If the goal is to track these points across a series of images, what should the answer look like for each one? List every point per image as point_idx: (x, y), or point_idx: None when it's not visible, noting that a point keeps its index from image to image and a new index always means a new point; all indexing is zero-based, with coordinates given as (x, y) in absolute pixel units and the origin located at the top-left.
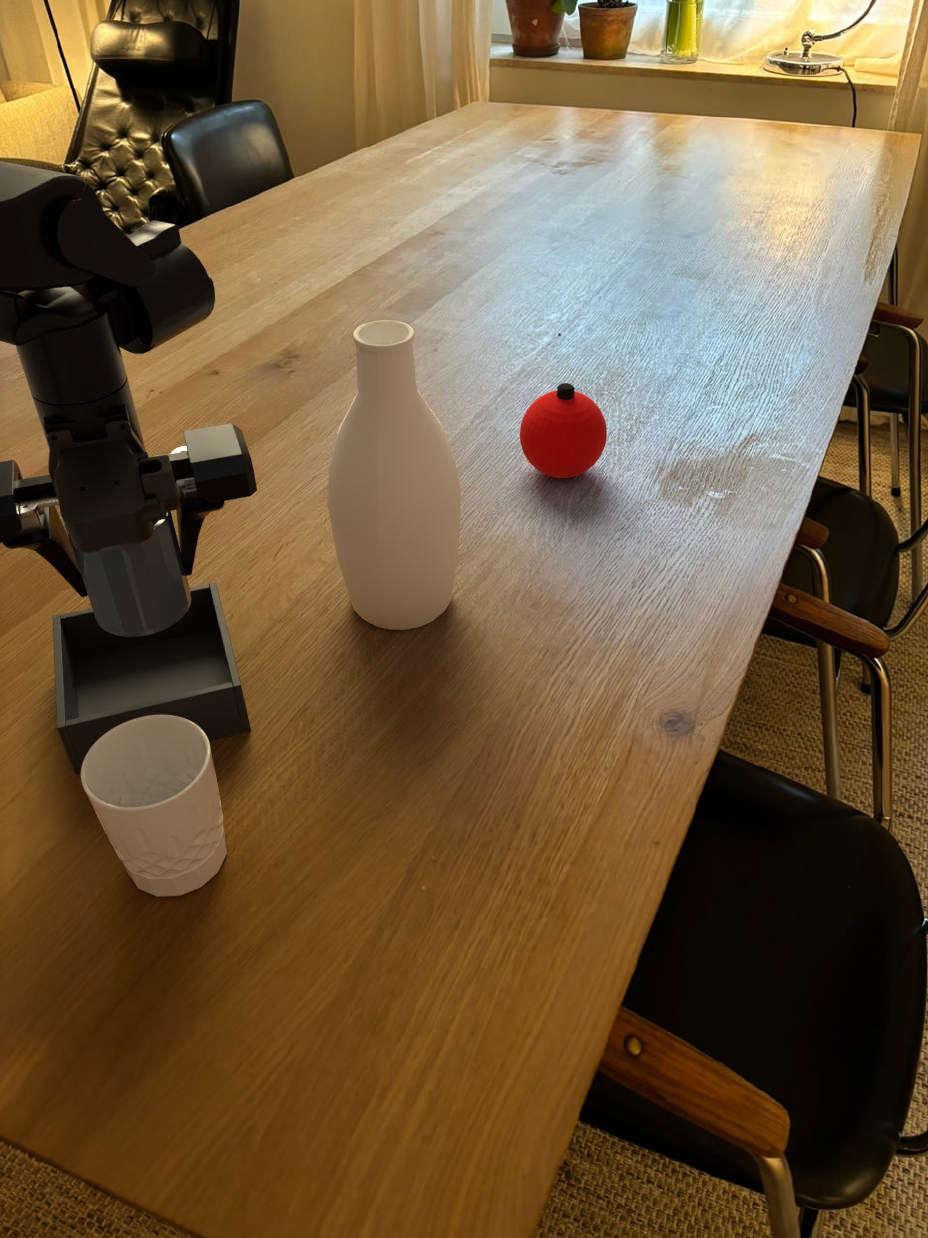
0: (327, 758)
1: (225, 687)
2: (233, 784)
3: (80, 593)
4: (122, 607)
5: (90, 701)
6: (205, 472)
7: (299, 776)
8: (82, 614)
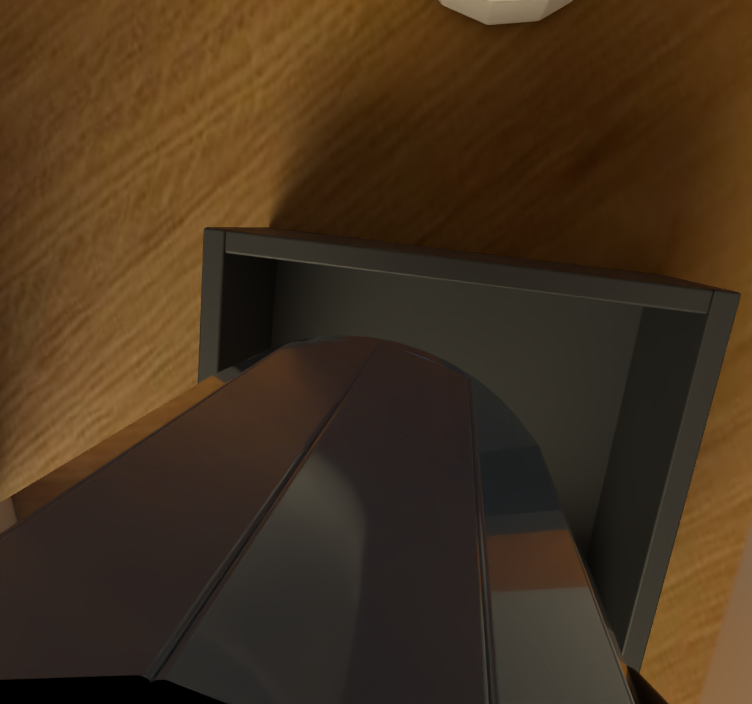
0: (135, 67)
1: (245, 237)
2: (342, 80)
3: (643, 687)
4: (439, 421)
5: (574, 475)
6: None
7: (203, 39)
8: None
